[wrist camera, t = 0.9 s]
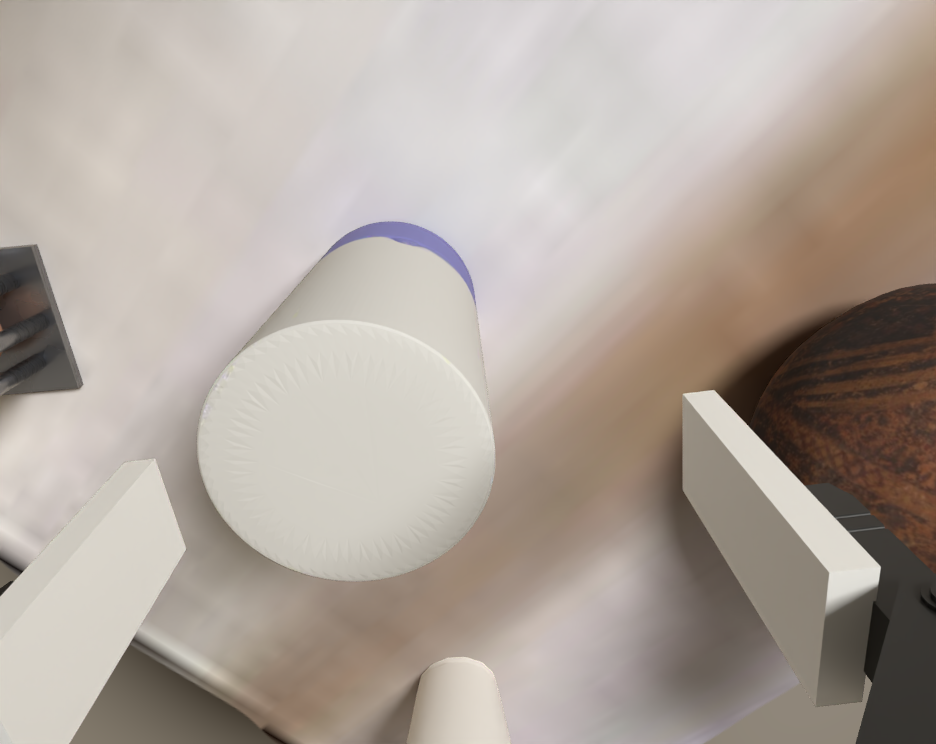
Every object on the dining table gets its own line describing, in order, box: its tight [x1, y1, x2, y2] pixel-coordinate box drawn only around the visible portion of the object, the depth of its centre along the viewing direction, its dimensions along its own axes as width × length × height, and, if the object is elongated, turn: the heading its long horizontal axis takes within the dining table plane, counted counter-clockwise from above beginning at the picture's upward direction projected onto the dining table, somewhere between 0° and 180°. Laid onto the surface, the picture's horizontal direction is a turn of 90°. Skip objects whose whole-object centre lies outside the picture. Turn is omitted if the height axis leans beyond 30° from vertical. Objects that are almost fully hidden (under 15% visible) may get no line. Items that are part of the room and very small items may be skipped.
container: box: [197, 222, 495, 582], centre depth 31 cm, size 10×10×20 cm
